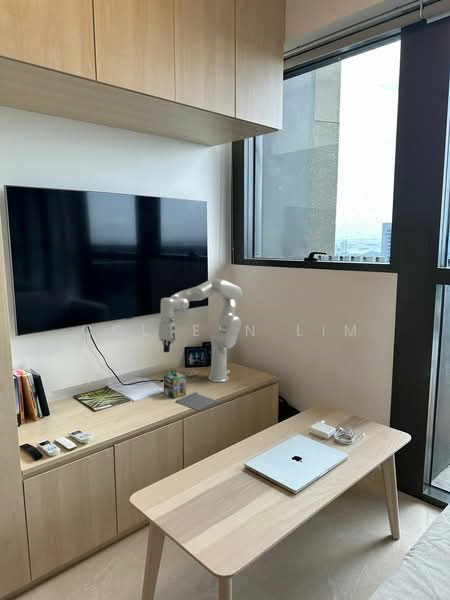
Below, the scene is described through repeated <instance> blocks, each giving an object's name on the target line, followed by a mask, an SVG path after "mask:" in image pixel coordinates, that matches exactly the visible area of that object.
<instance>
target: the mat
mask: <svg viewBox="0 0 450 600" xmlns="http://www.w3.org/2000/svg"><path fill="white" fill-rule="evenodd" d="M217 402H218V400H216V399H213V398H211V397H208V396H205V395H202V394H199V393H197V391H194V392H192V393H190V394H188V395H184V396H182V397H179V398H177V399H175V403H177V404H179V405H182V406H184V405H185V407H187V406H188V408H190V409H193V410H196V411H198V412H199V411H201V410H204V409H206V408H208V407H209V406H211V405H213V404H215V403H217Z"/></svg>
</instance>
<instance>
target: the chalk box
mask: <svg viewBox="0 0 450 600" xmlns="http://www.w3.org/2000/svg"><path fill="white" fill-rule="evenodd" d="M186 377H187V376H186V374H183V373H181V372H180V373H179V372H177V371H176V370H175V369H172V368H171V369H170V372H169V373H167V374H164V375H163V396H166V397H168V398H170V399H172V400H174V399H175V400H176V398H177V399H178V398H181V397H184V396H187V395H186V391H187V390H186V388H187V387H186V382H187V381H186V379H187V378H186Z"/></svg>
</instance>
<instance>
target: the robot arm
mask: <svg viewBox="0 0 450 600" xmlns="http://www.w3.org/2000/svg"><path fill="white" fill-rule="evenodd" d="M214 294H219V296H220V297H221V299H222V302H223V303H222V308H221V311H220V315H219V317H218V319H217V325H218V326H219V327H220V328H222V329H215V330H212V333H211V334H210V344H211V367H210V368H211V369H210V375H209V376H208V380H209V381H211V382H215V383H224V382H227V381H229V379H230V378H229V376H228V374H230V373H231V370H230V369H227V361H228V360H227V359H228V358H227V357H228V349H231V348H233V347H234V346H235V344H236V343H237V339H238V336H239V334H240V331H241V328H242V320H241V318H240V317H239V316H237V315H235V314H236V310H237V300H240V299H241V298H242V296H243V290H242V289H241V287H240V286H239V285H235V284H233V283H231V282H229V281H227V280H225V279H220V278H211V279H209V280H206V281H205V282H203V283H200V284H199V285H197V286H194V287H190V288H187V289H183V290H181V291H179V292H176V293H174V294H172V295H171V296H170V297H163V298H161V299H160V321H159V325H158V339H159V341H160V342H162V345H163V352H164V353H169V352H170V351H171V350H170V349H171V348H170V346H171V345H172V344H175V341H176V340H177V327H176V325H177V324H176V323H175V321H176V319H175V311H178V312H183V311H187V310H188V309H189V306H190V302H197V301H202V300H205V299H207V298H209V297H210V296H212V295H214ZM223 329H225V330H223Z"/></svg>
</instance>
